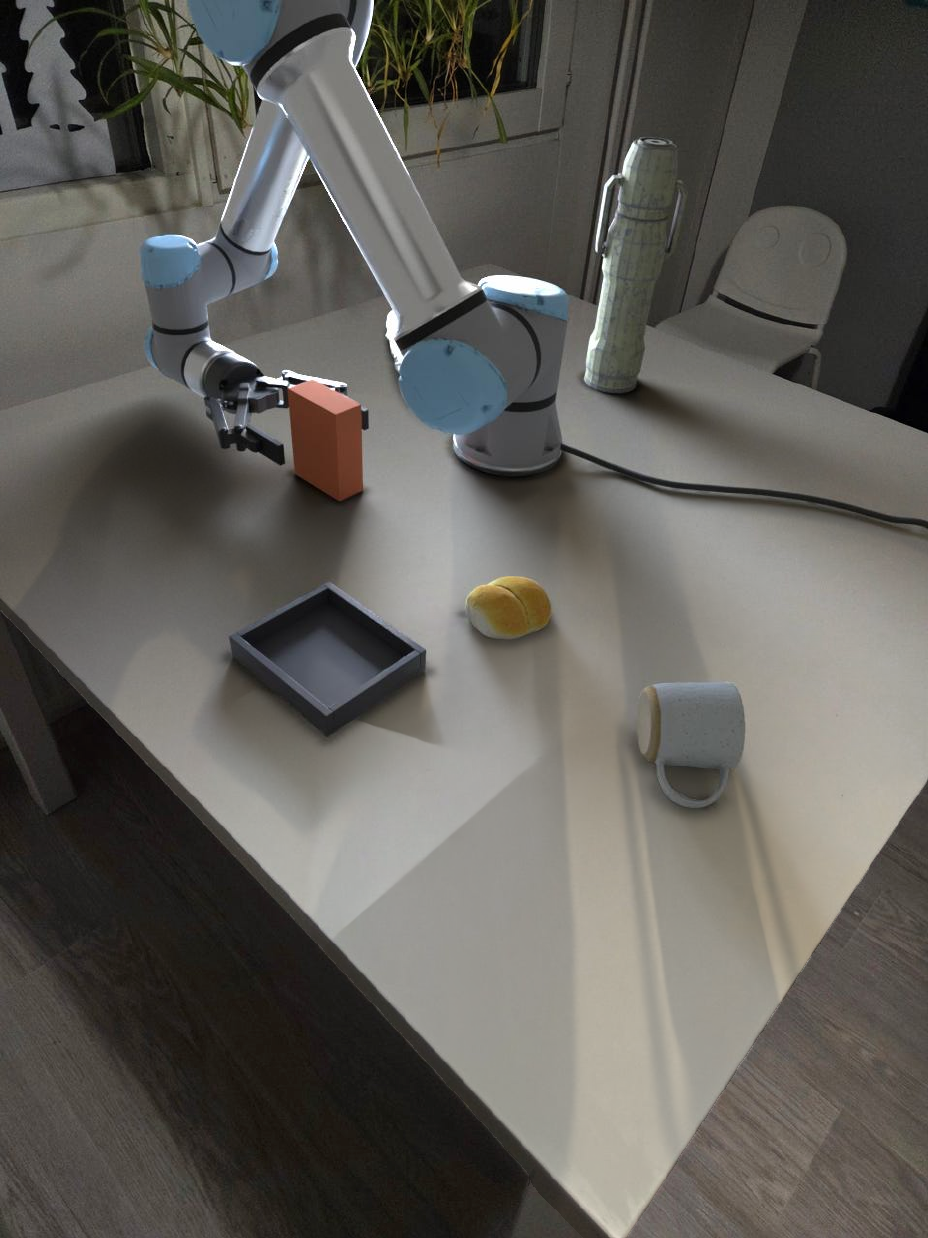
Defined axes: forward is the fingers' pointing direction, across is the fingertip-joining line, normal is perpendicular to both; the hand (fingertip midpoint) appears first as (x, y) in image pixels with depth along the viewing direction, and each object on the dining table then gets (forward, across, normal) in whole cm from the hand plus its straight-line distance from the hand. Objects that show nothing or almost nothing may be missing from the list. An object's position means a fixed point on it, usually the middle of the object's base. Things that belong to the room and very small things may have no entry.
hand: (326, 436), depth 103 cm
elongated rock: (-20, -36, -7) cm, 41 cm away
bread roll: (+34, +3, -7) cm, 35 cm away
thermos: (+7, -54, -7) cm, 55 cm away
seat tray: (+26, +22, -6) cm, 35 cm away
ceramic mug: (+58, +7, -7) cm, 59 cm away
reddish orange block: (0, 0, -6) cm, 6 cm away
